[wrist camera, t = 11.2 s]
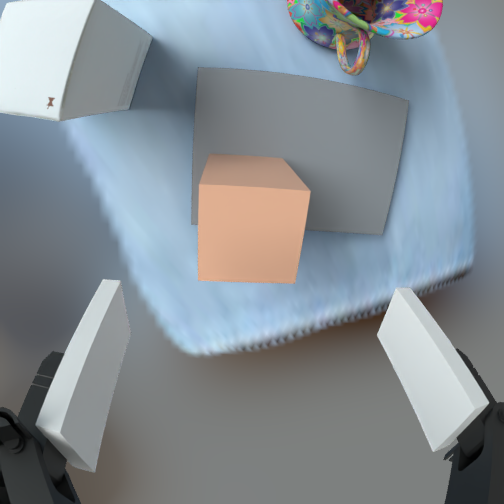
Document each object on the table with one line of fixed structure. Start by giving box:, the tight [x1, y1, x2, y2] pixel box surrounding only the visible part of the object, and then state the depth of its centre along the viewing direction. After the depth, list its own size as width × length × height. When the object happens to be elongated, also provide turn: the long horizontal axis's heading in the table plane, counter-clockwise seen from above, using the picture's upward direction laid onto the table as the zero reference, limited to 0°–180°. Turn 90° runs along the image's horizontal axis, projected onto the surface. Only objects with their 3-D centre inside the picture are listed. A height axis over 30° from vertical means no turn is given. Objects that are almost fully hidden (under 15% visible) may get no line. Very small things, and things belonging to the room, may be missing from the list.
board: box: [191, 67, 409, 235], centre depth 26 cm, size 14×19×2 cm
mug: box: [287, 0, 443, 75], centre depth 16 cm, size 12×9×11 cm
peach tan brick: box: [198, 154, 311, 283], centre depth 22 cm, size 6×6×10 cm
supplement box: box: [0, 0, 152, 122], centre depth 16 cm, size 7×7×13 cm
